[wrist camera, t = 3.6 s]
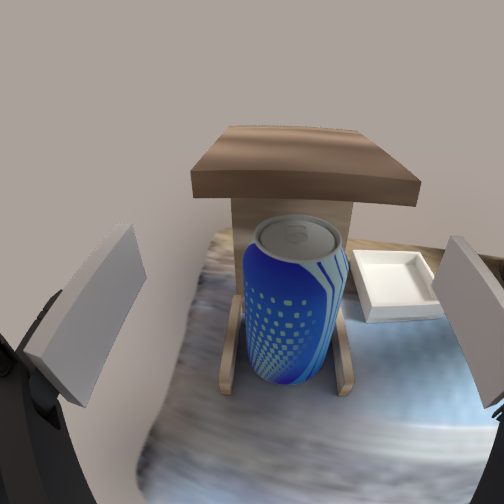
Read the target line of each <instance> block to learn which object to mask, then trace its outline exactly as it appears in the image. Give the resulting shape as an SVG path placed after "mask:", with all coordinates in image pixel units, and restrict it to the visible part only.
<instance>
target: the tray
mask: <svg viewBox="0 0 504 504" xmlns="http://www.w3.org/2000/svg"><path fill="white" fill-rule="evenodd" d="M349 266H350V269H351V272H352V276H353V279H354V282H355V285H356V289H357V292H358V296H359V299H360V303H361V306H362V310H363V313H364V317H365V321H366V323H381V322H401V321H416V320H429V319H441V318H442V316H443V315H444V313H445V312H444V310H443V308H442V306H441V305H440V303H439V301H438V299H437V297H436V295H435V293H434V291H433V289H432V288H431V284H432V282H433V279H434V277H435V276H434V275H433V273H432V271H431V270H430V268H429V266H428V265H427V263H426V261H425V260H424V258H423V257H422V255H421V253H420V252H406V251H374V250H353V251H352V256H351V260H350V265H349Z"/></svg>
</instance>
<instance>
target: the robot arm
mask: <svg viewBox="0 0 504 504" xmlns="http://www.w3.org/2000/svg"><path fill="white" fill-rule="evenodd" d="M500 272H501V276H502V278H503V280H504V259H503V261H502V264H501V266H500ZM145 280H146V274H145V271H144V267H143V264H142V260H141V256H140V253H139V249H138V245H137V241H136V237H135V233H134V228H133V224H116V225H115V226H114V227H113V229H112V230H111V231H110V232H109V233H108V234H107V236H106V237H105V238H104V239H103V240H102V241H101V243H100V244H99V245H98V246H97V247H96V248H95V250H94V251H93V252H92V253H91V255H90V256H89V257H88V259H87V260H86V261H85V262H84V263H83V265H82V266H81V267H80V268H79V270H78V271H77V272H76V274H75V275H74V276H73V277H72V279H71V280H70V281H69V283H68V284H67V286H66V287H65V288H64V290H60V291H58V293H56V294H55V295H54V296H52V297H51V298H50V300H49V301H48V302H47V304H46V305H45V307H44V308H43V311H41V312H40V314H39V315H38V316H37V320H35V321H34V322H33V324H32V326H31V327H30V328H29V330H28V332H27V333H26V335H25V336H24V338H23V339H22V341H21V343H20V345H19V346H18V348H17V349H16V351H15V352H14V350H13V349H12V348H11V346H10V345H9V344H8V342H7V341H6V340H5V338H4V337H3V336H2V335H1V334H0V504H97V503H96V501H95V499H94V497H93V495H92V493H91V490H90V488H89V486H88V484H87V481H86V479H85V477H84V474H83V472H82V469H81V467H80V464H79V462H78V459H77V456H76V454H75V451H74V448H73V445H72V442H71V439H70V436H69V433H68V430H67V426H66V423H65V419H64V416H63V412H62V408H61V405H60V403H59V401H58V399H57V397H58V395H59V393H60V394H61V395H62V396H63V397H64V398H65V399H66V400H67V401H68V402H71V403H73V404H76V405H78V406H81V407H84V408H86V406H87V403H88V401H89V398H90V396H91V393H92V391H93V389H94V386H95V384H96V381H97V379H98V377H99V374H100V372H101V370H102V368H103V365H104V363H105V361H106V359H107V356H108V354H109V352H110V350H111V348H112V345H113V343H114V341H115V339H116V337H117V335H118V333H119V330H120V329H121V326H122V324H123V322H124V320H125V318H126V316H127V314H128V312H129V310H130V308H131V306H132V304H133V302H134V300H135V298H136V297H137V295H138V293H139V291H140V289H141V287H142V285H143V283H144V281H145ZM431 288H432V289H433V291H434V293H435V295H436V297H437V299H438V301H439V303H440V305H441V306H442V308H443V310H444V312H445V314H446V316H447V318H448V320H449V323H450V325H451V327H452V329H453V331H454V333H455V335H456V337H457V340H458V342H459V344H460V346H461V349H462V351H463V353H464V356H465V358H466V361H467V363H468V366H469V368H470V371H471V373H472V376H473V378H474V381H475V384H476V387H477V389H478V392H479V395H480V398H481V401H482V404H483V407H484V409H485V408H488V407H490V406H493V405H495V404H497V403H499V402H500V401H501V400H502V399H503V398H504V289H503V288H502V286H501V285H500V283H499V282H498V281H497V279H496V278H495V276H494V275H493V274H492V272H491V271H490V270H489V268H488V267H487V266H486V264H485V263H484V262H483V261H482V259H481V258H480V257H479V256H478V254H477V253H476V252H475V251H474V249H473V248H472V247H471V246H470V245H469V244H468V242H467V241H466V240H465V239H464V238H463V237H460V236H450V239H449V241H448V244H447V247H446V249H445V252H444V255H443V257H442V260H441V262H440V265H439V267H438V270H437V272H436V275H435V277H434V279H433V282H432V284H431ZM500 412H502V414H501V415H499V416H498V417H497V419H496V420H498V421H500V423H499V427H498V430H497V434H496V437H495V441H494V444H493V447H492V450H491V453H490V456H489V459H488V462H487V464H486V467H485V470H484V472H483V475H482V477H481V479H480V482H479V484H478V487H477V489H476V491H475V493H474V495H473V497H472V500H471V502H470V504H504V404H503V405H502V406H501V407H500V408H499V409H497V410H496V411H495V412H494V413H493V415H492V418H494V417H496V416H497V415H498V414H499V413H500Z"/></svg>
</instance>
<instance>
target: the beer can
mask: <svg viewBox="0 0 504 504" xmlns="http://www.w3.org/2000/svg"><path fill="white" fill-rule="evenodd" d="M341 245H342V238H341V235H340V233H339V231H338V230H337V229H336V228H335V227H334V226H333V225H331V224H330V223H328V222H326V221H324V220H322V219H319V218H316V217H313V216H308V215H301V214H286V215H279V216H275V217H271V218H269V219H267V220H265V221H263V222H262V223H260V224H259V225H258V226H257V228H256V229H255V232H254V239H253V240H252V242H251V243H250V244H249V246H248V247H247V249H246V251H245V253H244V256H243V283H244V302H245V321H246V339H247V356H248V361H249V363H250V365H251V367H252V369H253V370H254V371H255V372H256V373H257V374H258V375H259V376H260V377H261V378H263V379H265V380H267V381H269V382H271V383H274V384H279V385H295V384H299V383H302V382H305V381H307V380H309V379H311V378H312V377H313V376H315V375H316V374H317V373H318V371H319V370H320V369H321V367H322V365H323V363H324V360H325V356H326V353H327V350H328V347H329V343H330V340H331V336H332V333H333V329H334V326H335V322H336V319H337V315H338V311H339V308H340V304H341V300H342V296H343V292H344V288H345V284H346V279H347V275H348V269H349V265H348V259H347V257H346V254H345V252H344V250H343V248H342V246H341Z"/></svg>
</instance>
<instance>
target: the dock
mask: <svg viewBox="0 0 504 504" xmlns="http://www.w3.org/2000/svg"><path fill="white" fill-rule="evenodd" d="M191 181H192V190H193V198H231V211H232V228H233V244H234V259H235V273H236V287H237V295H233V297H232V303H231V309H230V314H229V320H228V326H227V331H226V337H225V343H224V349H223V354H222V360H221V366H220V372H219V378H218V382H219V387H220V391H221V394H224V395H231V392H232V384H233V377H234V369H235V362H236V355H237V347H238V340H239V332H240V325H241V317H242V312H245V302H244V283H243V256H244V253H245V251H246V249H247V247H248V246H249V244H250V243H251V242H252V240H253V239H254V232H255V229H256V228H257V226H258V225H259V224H260V223H262V222H263V221H265V220H267V219H269V218H271V217H275V216H279V215H286V214H301V215H308V216H313V217H316V218H319V219H322V220H324V221H326V222H328V223H330V224H331V225H333V226H334V227H335V228H336V229H337V230H338V231H339V233H340V235H341V238H342V245H341V246H342V248H343V250H344V252H345V249H346V243H347V238H348V232H349V226H350V220H351V214H352V208H353V202H364V203H378V204H391V205H403V206H412V207H416V204H417V200H418V194H419V191H420V185H421V181H420V180H419V179H418V178H417V177H415V176H414V175H413V174H412V173H411V172H410V171H408V170H407V169H406V168H405V167H404V166H402V165H401V164H400V163H399V162H398V161H396V160H395V159H394V158H392V157H391V156H390V155H389V154H387V153H386V152H385V151H384V150H382V149H381V148H380V147H378V146H377V145H376V144H374V143H373V142H372V141H370V140H369V139H368V138H366V137H365V136H363V135H362V134H361V133H359V132H358V131H352V130H342V129H329V128H316V127H299V126H229V127H228V129H226V131H225V132H224V133H223V134H222V135H221V136H220V137H219V138H218V140H217V141H216V142H215V143H214V144H213V145H212V146H211V147H210V149H209V150H208V151H207V152H206V153H205V154H204V156H203V157H202V158H201V159H200V160H199V161H198V163H197V164H196V165H195V166H194V167H193V169H192V170H191ZM331 341H332V348H333V356H334V363H335V371H336V380H337V389H338V396H348V394H349V392H350V390H351V389H352V387H353V385H354V383H355V378H354V372H353V366H352V360H351V355H350V349H349V344H348V338H347V333H346V328H345V323H344V318H343V313H342V308H341V304H340V308H339V311H338V315H337V319H336V322H335V326H334V329H333V333H332V336H331Z"/></svg>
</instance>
